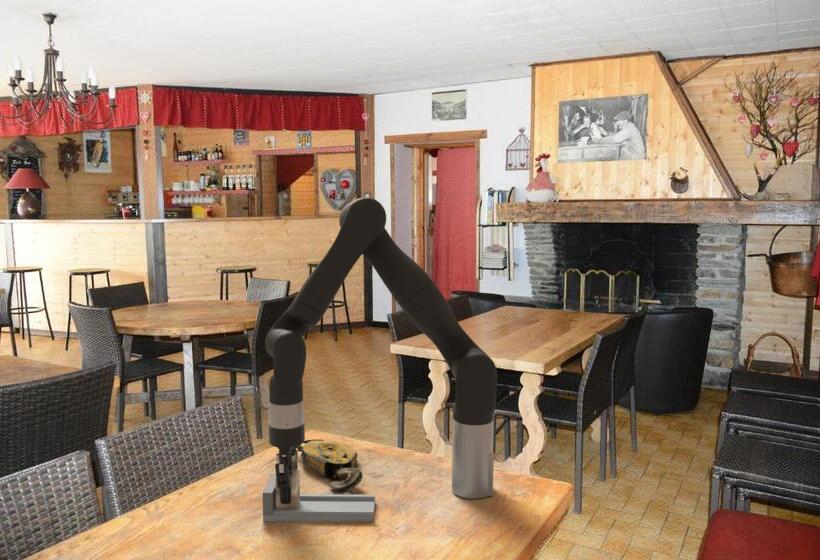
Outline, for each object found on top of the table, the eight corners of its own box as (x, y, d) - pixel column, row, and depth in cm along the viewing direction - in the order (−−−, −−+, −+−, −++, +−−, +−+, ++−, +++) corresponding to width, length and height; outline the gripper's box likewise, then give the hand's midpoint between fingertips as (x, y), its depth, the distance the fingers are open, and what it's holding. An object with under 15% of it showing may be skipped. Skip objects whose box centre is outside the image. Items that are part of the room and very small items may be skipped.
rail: (375, 502, 151) (375, 476, 150) (372, 521, 142) (372, 493, 142) (271, 501, 151) (271, 475, 151) (263, 521, 142) (262, 492, 142)
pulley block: (321, 474, 151) (295, 431, 179) (317, 499, 151) (292, 452, 179) (381, 475, 156) (347, 433, 184) (377, 499, 156) (344, 453, 184)
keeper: (299, 500, 149) (299, 469, 148) (296, 509, 144) (296, 477, 144) (279, 500, 149) (279, 469, 148) (275, 509, 144) (275, 477, 144)
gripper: (298, 433, 137) (300, 513, 139) (309, 410, 151) (310, 484, 154) (261, 432, 137) (263, 513, 139) (275, 410, 151) (277, 484, 154)
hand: (288, 497), depth 146 cm, fingers closed on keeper, 4 cm apart
